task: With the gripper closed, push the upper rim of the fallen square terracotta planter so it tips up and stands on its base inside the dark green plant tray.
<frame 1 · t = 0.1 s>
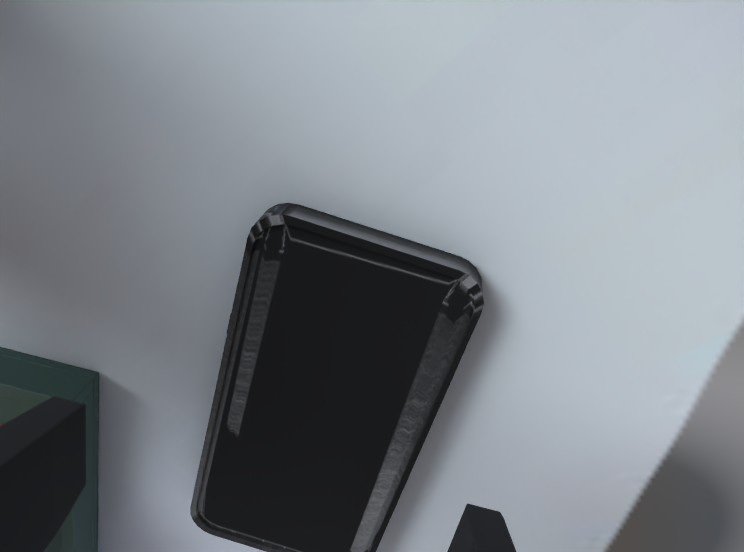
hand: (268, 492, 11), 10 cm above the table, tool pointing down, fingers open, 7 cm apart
phone: (322, 400, 23), on the table
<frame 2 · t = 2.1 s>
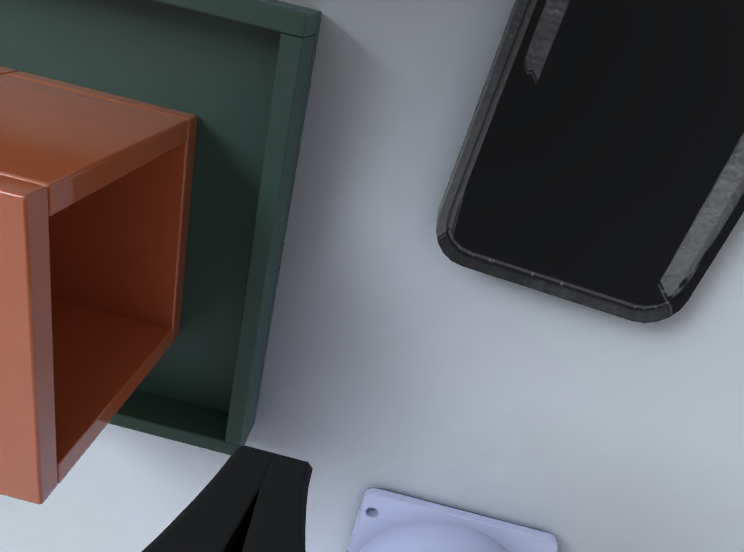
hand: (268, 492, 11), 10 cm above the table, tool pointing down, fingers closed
phone: (654, 35, 16), on the table
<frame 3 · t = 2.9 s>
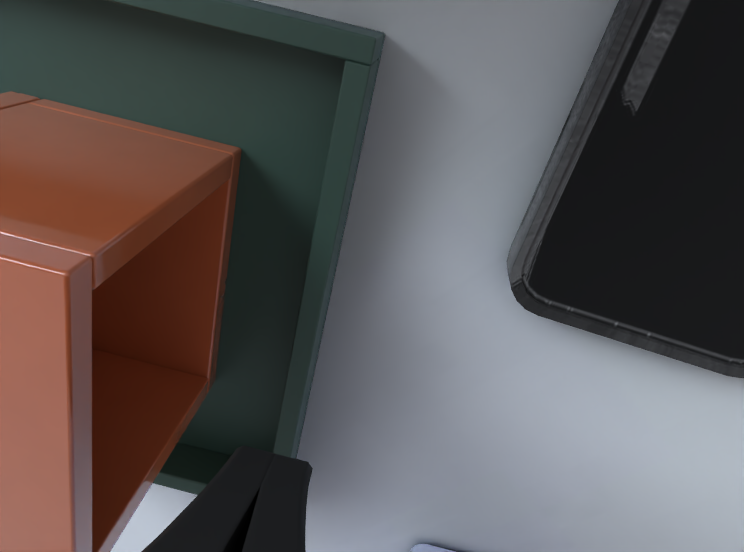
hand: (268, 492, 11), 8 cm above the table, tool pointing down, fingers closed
tray: (4, 213, 18), on the table
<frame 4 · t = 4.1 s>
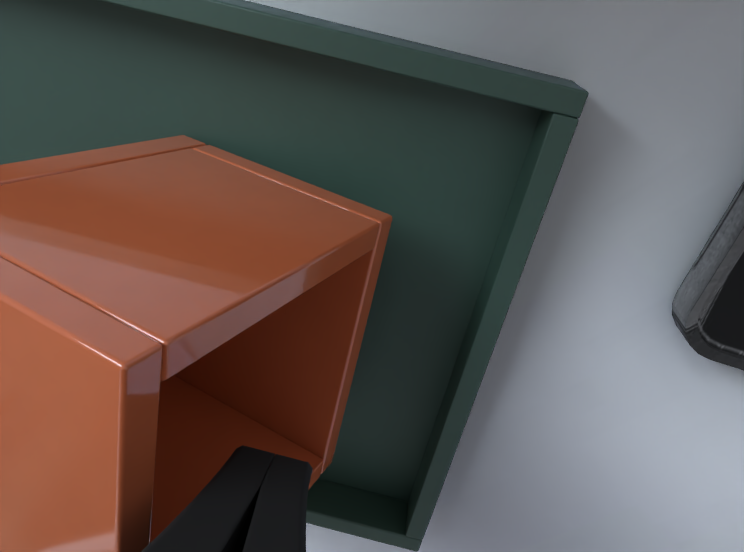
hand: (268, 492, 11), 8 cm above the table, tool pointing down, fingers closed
planter: (55, 312, 14), point 4 cm above the table, tilted 20°, touching tray
tray: (156, 251, 18), on the table
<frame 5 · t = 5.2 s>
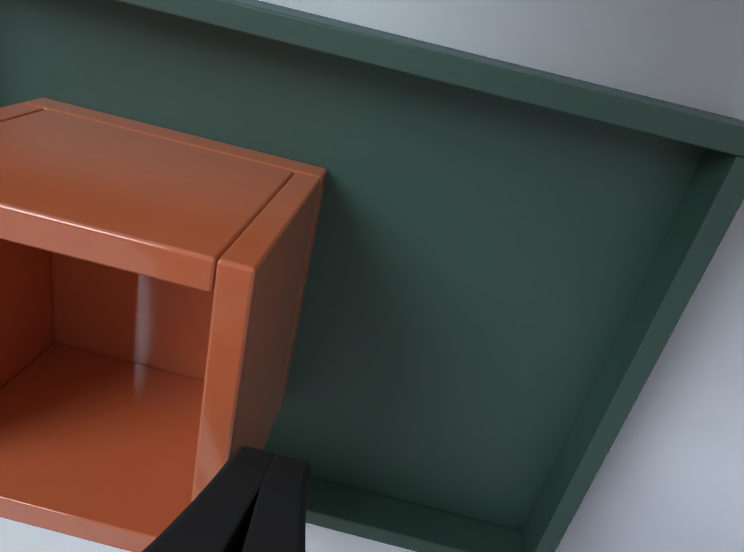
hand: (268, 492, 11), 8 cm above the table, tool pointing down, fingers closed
planter: (175, 262, 18), resting on tray, tilted 90°
tray: (284, 283, 18), on the table
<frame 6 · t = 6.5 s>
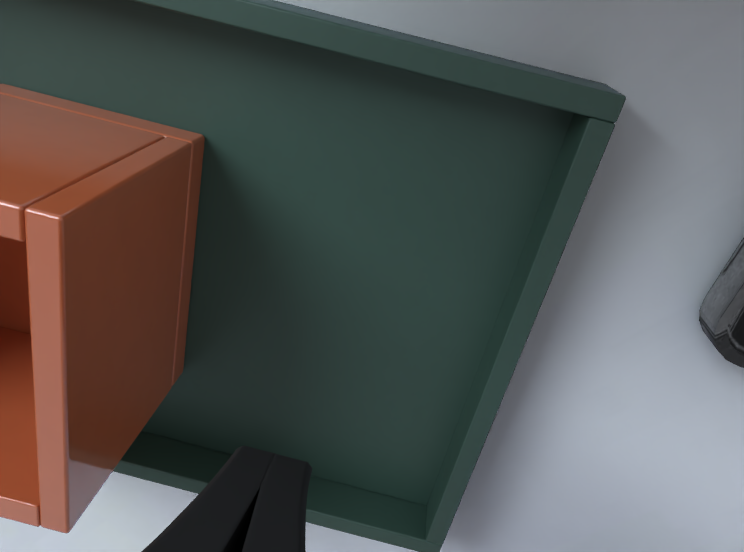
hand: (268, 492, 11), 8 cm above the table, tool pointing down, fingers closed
planter: (64, 232, 18), resting on tray, tilted 90°
tray: (176, 253, 18), on the table
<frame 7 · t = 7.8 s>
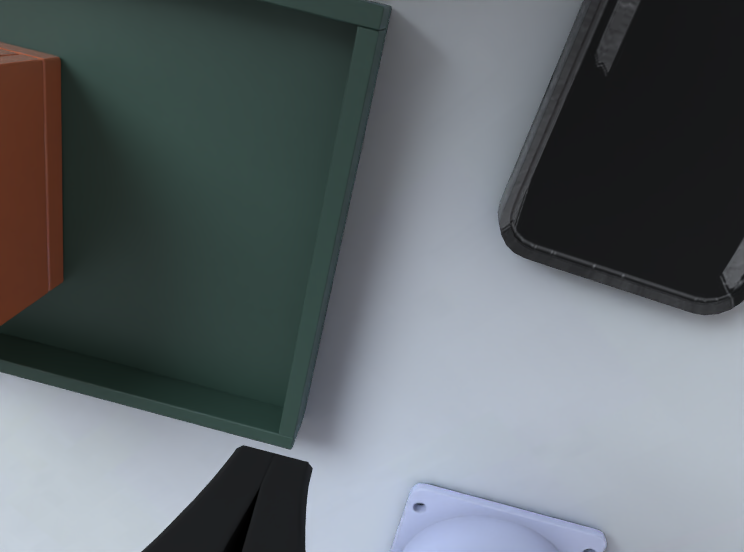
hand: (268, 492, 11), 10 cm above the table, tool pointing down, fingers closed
tray: (50, 171, 20), on the table
phone: (722, 29, 16), on the table
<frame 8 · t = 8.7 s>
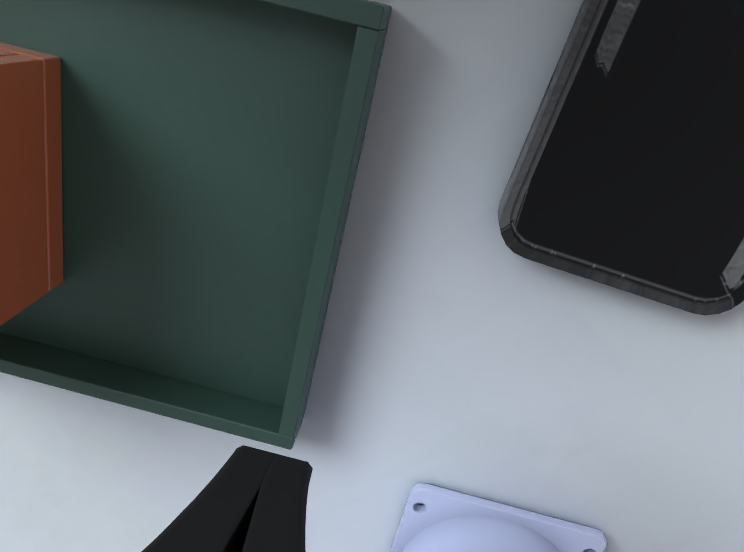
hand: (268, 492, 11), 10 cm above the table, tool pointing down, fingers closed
tray: (50, 171, 20), on the table
phone: (722, 29, 16), on the table
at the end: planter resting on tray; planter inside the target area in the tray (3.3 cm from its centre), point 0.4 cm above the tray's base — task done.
